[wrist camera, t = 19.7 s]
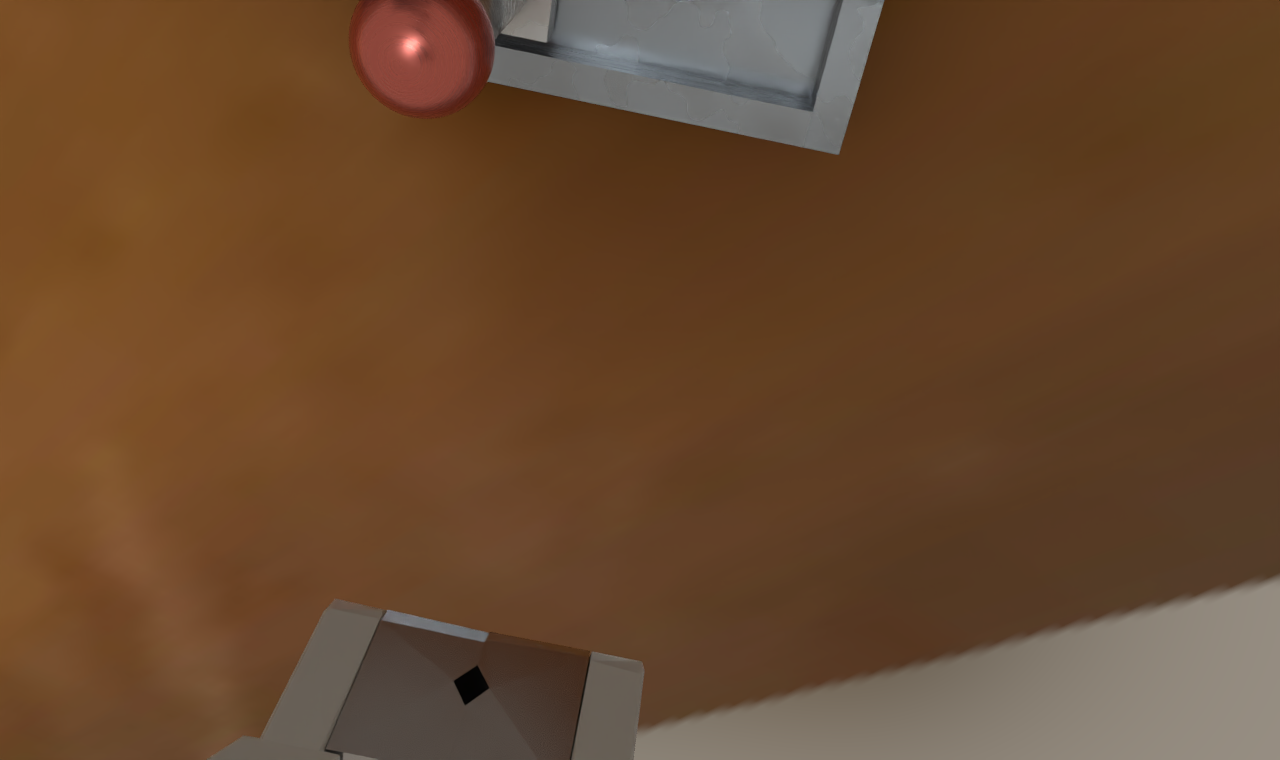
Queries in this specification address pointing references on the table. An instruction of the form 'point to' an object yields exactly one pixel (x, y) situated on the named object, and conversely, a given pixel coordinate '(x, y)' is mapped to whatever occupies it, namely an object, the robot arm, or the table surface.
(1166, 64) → the table surface
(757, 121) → the lever rail
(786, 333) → the table surface
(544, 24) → the lever
